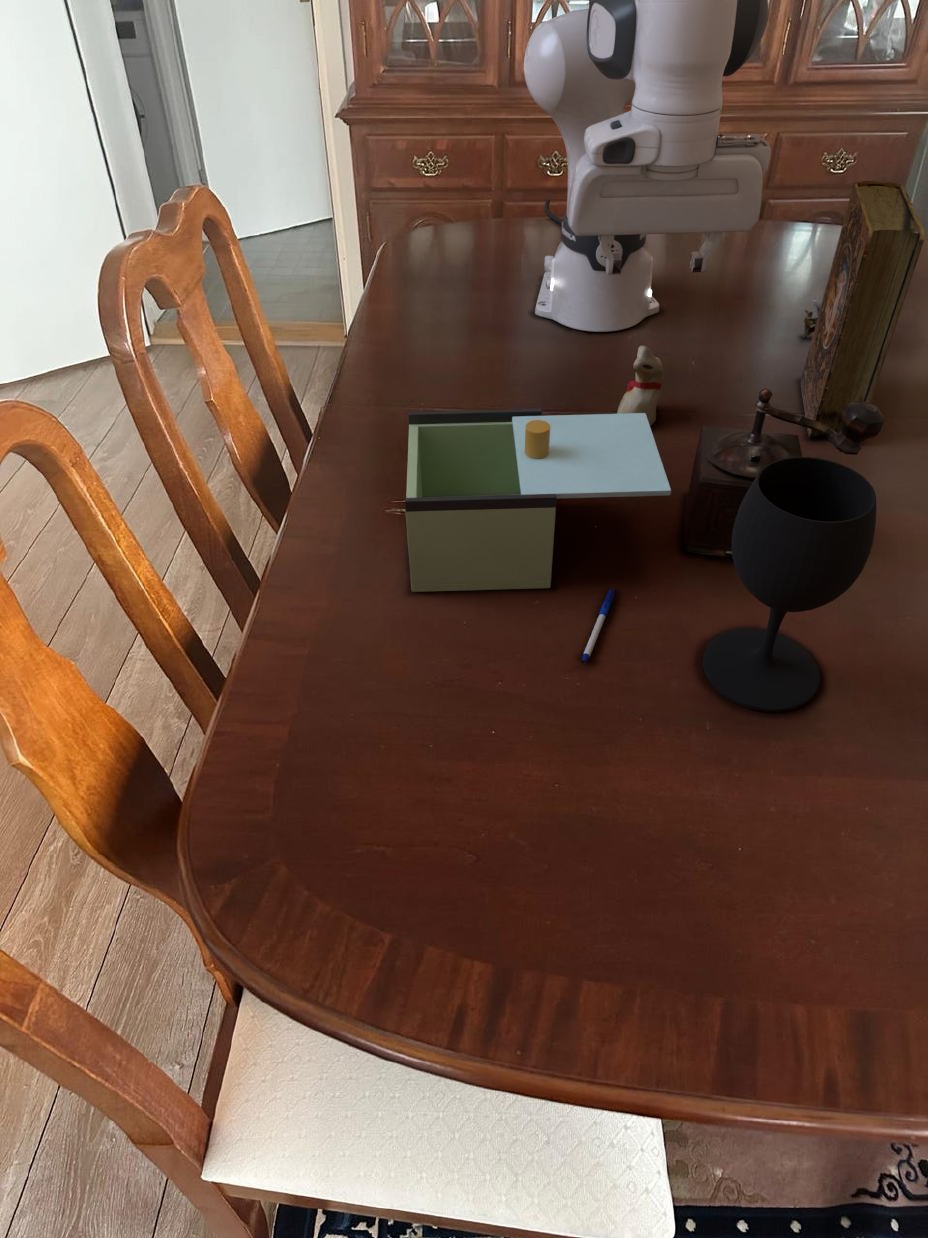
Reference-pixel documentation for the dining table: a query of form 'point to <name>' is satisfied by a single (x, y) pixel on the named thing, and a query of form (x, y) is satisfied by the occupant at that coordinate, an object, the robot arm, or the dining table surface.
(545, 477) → the light blue sliding lid
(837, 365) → the book
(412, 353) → the dining table surface
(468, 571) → the case
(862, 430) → the vintage coffee grinder
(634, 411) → the chocolate bunny
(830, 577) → the wine glass
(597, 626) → the ballpoint pen
